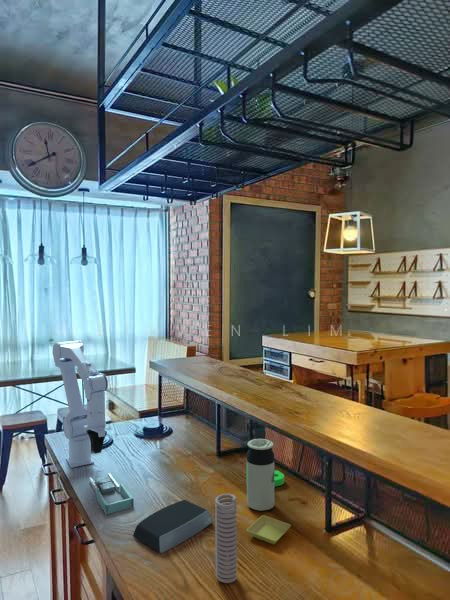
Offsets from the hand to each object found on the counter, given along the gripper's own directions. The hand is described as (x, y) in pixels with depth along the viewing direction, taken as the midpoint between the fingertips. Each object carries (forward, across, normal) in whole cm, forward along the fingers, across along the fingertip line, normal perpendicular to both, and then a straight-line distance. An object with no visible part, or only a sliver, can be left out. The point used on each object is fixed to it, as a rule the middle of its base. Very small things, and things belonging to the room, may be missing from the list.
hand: (96, 451), depth 144 cm
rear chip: (+9, +7, 0) cm, 11 cm away
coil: (+9, +65, +12) cm, 66 cm away
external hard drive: (+9, +41, +10) cm, 43 cm away
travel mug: (+9, +43, +36) cm, 57 cm away
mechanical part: (+9, +33, +46) cm, 57 cm away
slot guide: (+8, +8, 0) cm, 12 cm away
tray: (+8, +20, 0) cm, 21 cm away
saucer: (+9, +56, +30) cm, 64 cm away
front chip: (+9, +12, 0) cm, 14 cm away
